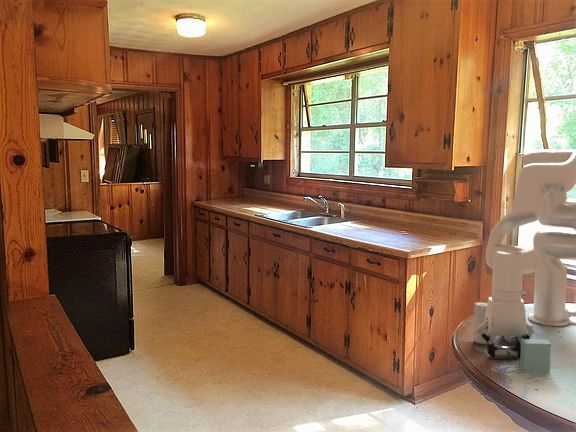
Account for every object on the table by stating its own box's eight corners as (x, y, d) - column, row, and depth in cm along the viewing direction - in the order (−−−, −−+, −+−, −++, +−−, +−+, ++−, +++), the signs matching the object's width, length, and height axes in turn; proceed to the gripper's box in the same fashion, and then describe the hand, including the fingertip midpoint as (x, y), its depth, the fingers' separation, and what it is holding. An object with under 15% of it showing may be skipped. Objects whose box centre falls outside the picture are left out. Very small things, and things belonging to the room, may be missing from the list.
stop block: (545, 368, 130) (546, 339, 129) (549, 373, 127) (550, 343, 126) (519, 367, 131) (521, 339, 130) (523, 372, 128) (525, 343, 127)
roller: (513, 355, 138) (514, 344, 137) (517, 362, 135) (518, 350, 134) (491, 355, 139) (492, 343, 138) (495, 361, 135) (495, 349, 135)
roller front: (525, 343, 147) (525, 330, 146) (529, 348, 143) (530, 335, 142) (504, 342, 148) (504, 330, 147) (508, 348, 144) (509, 335, 143)
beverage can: (491, 345, 146) (492, 306, 145) (474, 344, 147) (475, 306, 146) (488, 339, 151) (489, 302, 149) (472, 338, 152) (473, 301, 150)
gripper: (534, 291, 137) (531, 352, 139) (470, 290, 139) (469, 350, 141) (544, 299, 130) (541, 363, 132) (477, 298, 132) (475, 361, 134)
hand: (504, 355), depth 137 cm, fingers open, 6 cm apart
